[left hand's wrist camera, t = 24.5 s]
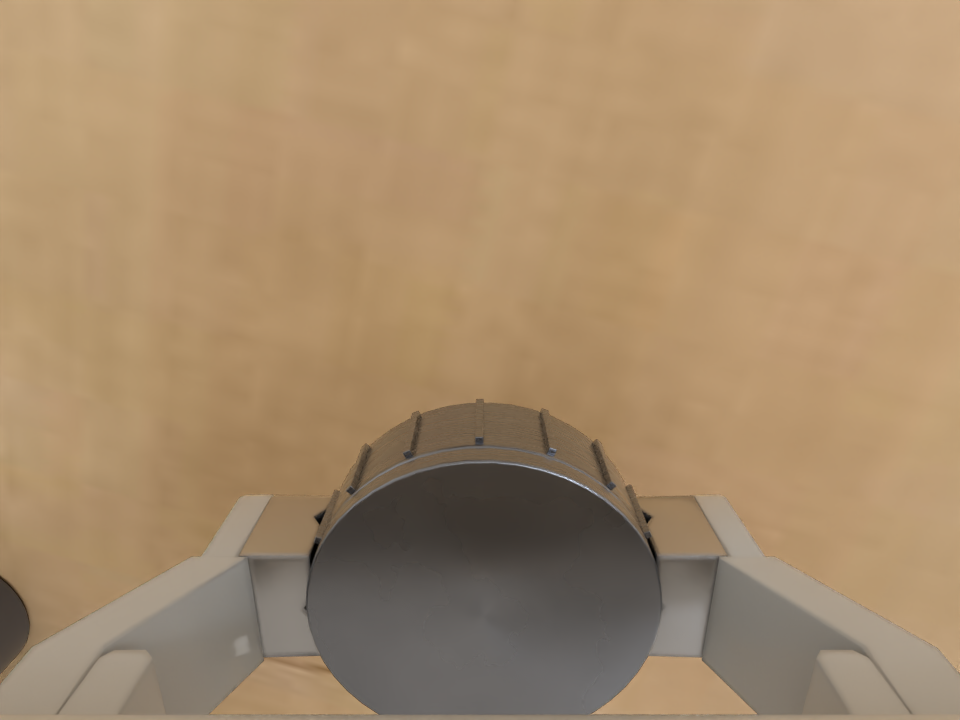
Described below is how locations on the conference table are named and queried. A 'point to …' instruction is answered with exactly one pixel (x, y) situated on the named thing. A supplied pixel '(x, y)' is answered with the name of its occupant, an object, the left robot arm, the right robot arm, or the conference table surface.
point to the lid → (483, 569)
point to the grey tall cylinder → (11, 625)
